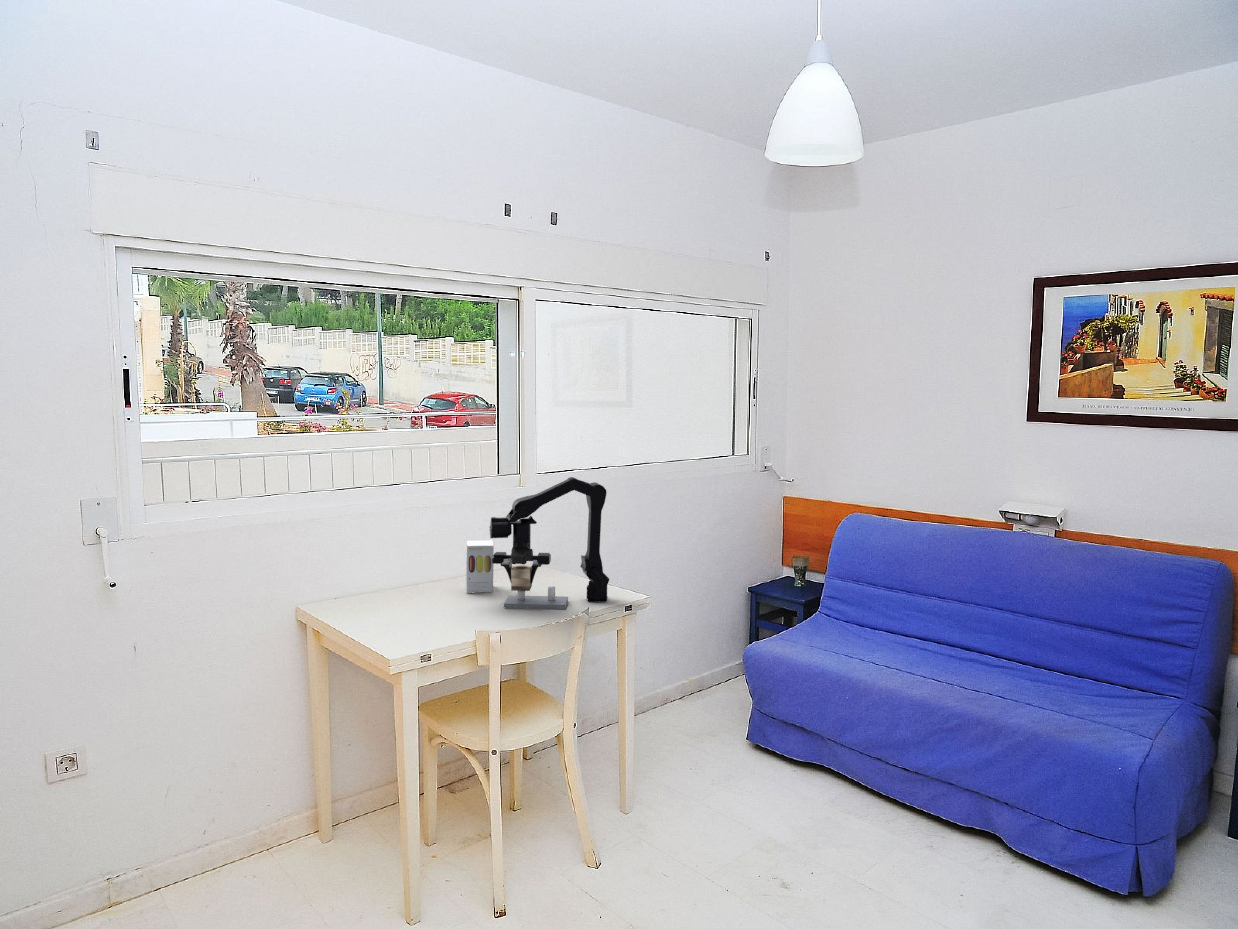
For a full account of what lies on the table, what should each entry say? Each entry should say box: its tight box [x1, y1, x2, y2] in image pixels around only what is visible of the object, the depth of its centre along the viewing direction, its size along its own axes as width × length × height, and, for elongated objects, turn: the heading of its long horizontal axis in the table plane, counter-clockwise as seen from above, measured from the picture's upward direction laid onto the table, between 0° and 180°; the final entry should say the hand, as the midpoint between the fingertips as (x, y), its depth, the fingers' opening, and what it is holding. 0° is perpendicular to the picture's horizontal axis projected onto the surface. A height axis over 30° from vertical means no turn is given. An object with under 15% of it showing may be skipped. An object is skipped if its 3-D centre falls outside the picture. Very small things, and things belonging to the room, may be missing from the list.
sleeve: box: [510, 564, 533, 592], centre depth 266 cm, size 6×6×7 cm
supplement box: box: [465, 540, 495, 594], centre depth 284 cm, size 10×9×17 cm
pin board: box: [503, 585, 569, 610], centre depth 267 cm, size 20×10×6 cm, turn 89°
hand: (521, 583), depth 267 cm, fingers closed on sleeve, 6 cm apart
